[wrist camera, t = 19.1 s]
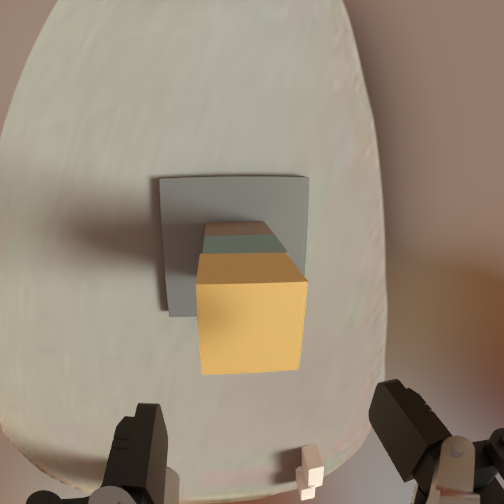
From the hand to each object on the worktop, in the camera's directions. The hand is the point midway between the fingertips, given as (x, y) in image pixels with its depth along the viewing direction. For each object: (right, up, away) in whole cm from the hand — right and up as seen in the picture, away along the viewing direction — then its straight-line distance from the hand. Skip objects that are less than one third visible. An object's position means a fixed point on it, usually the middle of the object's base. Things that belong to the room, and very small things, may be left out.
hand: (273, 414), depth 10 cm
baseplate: (-2, +6, +21) cm, 22 cm away
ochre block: (-1, +3, +11) cm, 11 cm away
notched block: (+8, -31, +34) cm, 47 cm away
